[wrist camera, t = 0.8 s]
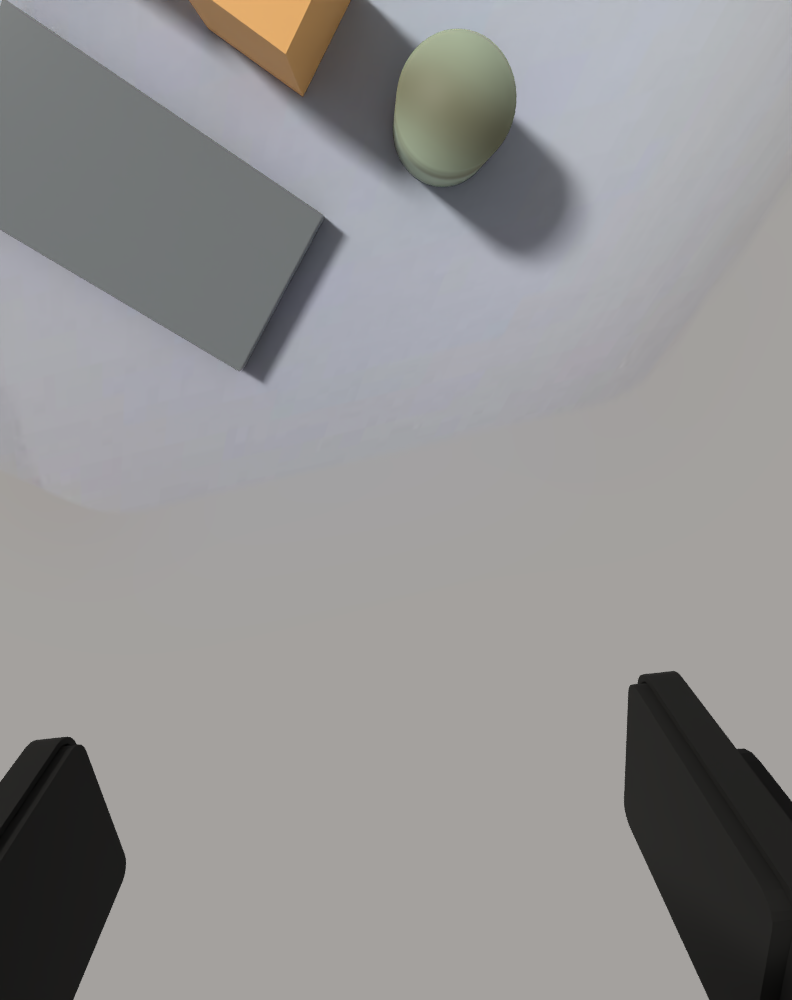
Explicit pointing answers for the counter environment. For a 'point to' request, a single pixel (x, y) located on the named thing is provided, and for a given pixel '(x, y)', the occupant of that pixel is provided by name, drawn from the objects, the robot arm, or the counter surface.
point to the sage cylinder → (452, 106)
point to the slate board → (140, 197)
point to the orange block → (277, 33)
